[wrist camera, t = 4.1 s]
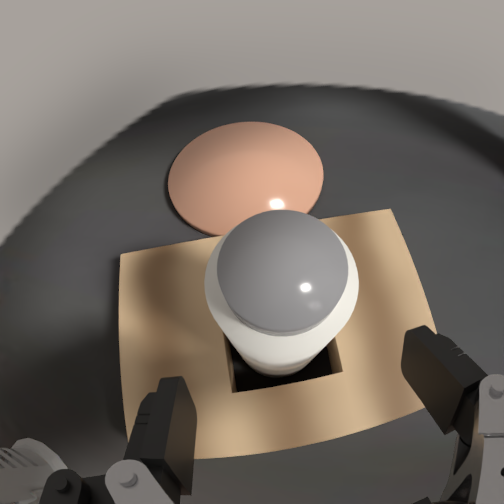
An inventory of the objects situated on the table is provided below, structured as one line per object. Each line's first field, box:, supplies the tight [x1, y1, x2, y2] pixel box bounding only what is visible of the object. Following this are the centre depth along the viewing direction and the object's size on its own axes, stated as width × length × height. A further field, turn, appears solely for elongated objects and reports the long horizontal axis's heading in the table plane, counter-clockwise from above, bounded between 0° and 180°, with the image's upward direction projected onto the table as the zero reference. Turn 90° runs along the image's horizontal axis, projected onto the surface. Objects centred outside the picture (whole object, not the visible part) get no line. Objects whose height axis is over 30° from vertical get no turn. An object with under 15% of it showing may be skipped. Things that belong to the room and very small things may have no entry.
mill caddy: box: [119, 209, 437, 459], centre depth 18 cm, size 20×14×3 cm
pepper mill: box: [204, 210, 359, 378], centre depth 14 cm, size 5×5×12 cm
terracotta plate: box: [168, 122, 323, 237], centre depth 26 cm, size 14×14×1 cm
